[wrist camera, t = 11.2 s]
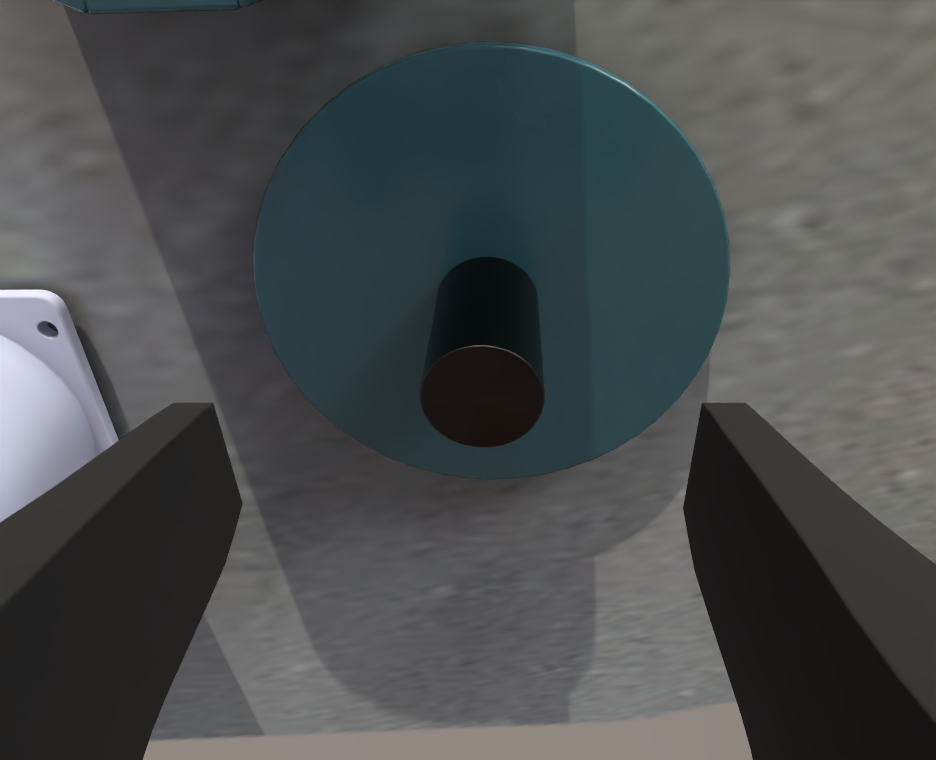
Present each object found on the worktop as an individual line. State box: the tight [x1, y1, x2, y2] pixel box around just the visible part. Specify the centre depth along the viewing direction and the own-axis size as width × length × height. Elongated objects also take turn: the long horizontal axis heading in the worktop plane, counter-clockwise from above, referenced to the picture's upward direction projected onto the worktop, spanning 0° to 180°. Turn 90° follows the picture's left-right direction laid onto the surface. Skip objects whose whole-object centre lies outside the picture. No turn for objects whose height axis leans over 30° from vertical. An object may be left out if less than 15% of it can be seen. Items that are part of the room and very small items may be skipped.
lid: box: [253, 41, 730, 479], centre depth 16 cm, size 11×11×5 cm
